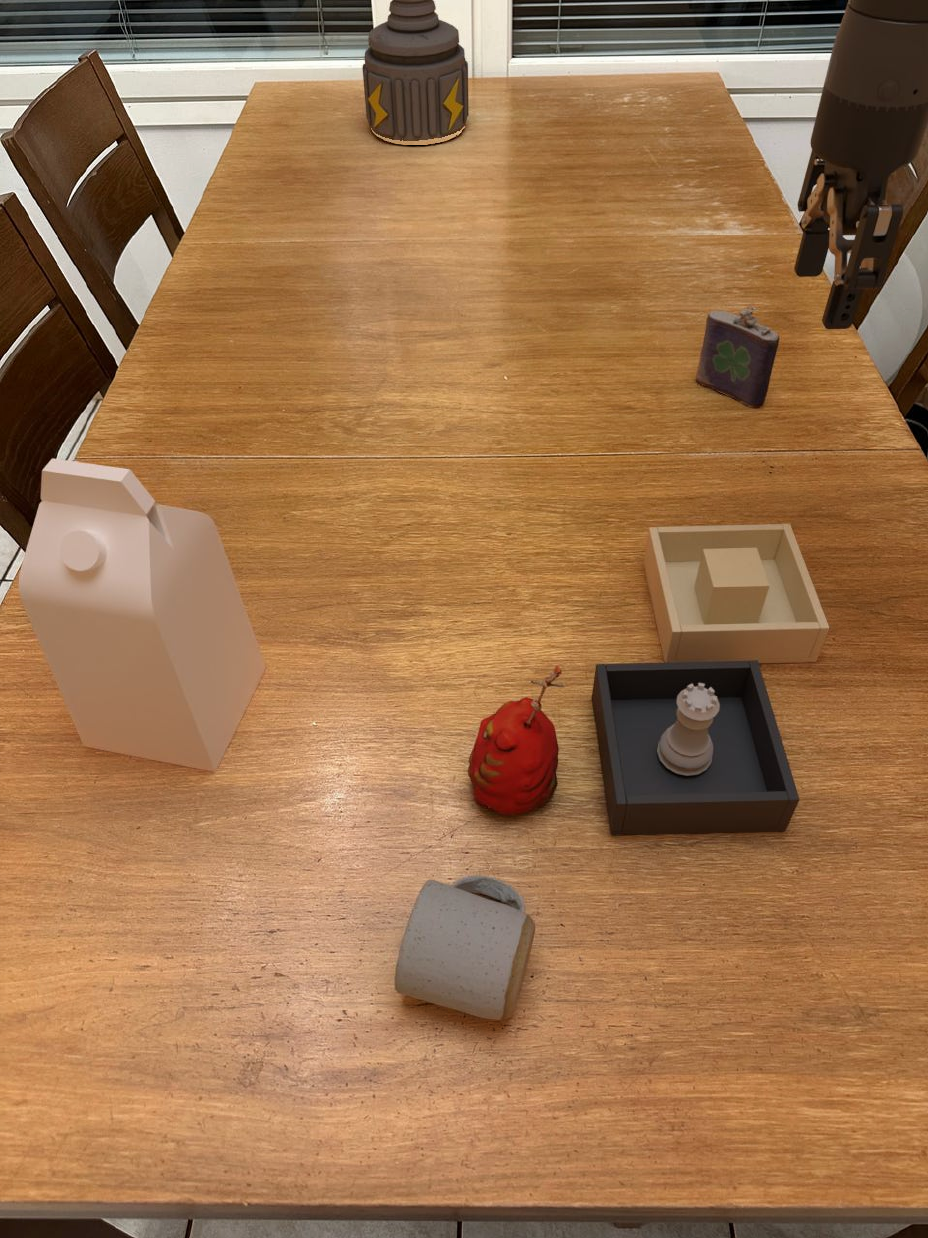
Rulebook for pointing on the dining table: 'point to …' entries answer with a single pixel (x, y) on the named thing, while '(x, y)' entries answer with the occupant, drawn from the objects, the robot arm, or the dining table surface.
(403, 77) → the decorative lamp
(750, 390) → the flask
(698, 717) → the rook chess piece
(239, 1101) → the dining table surface
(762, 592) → the cream block
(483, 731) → the red clay folk toy
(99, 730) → the milk
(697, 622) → the ivory bin
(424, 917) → the ceramic mug
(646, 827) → the charcoal bin
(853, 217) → the robot arm
